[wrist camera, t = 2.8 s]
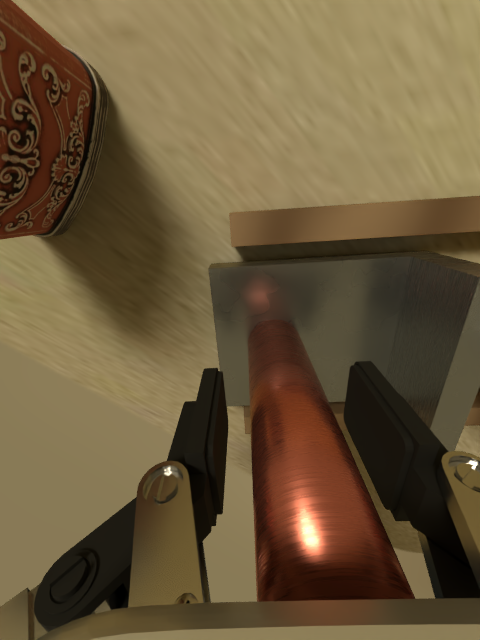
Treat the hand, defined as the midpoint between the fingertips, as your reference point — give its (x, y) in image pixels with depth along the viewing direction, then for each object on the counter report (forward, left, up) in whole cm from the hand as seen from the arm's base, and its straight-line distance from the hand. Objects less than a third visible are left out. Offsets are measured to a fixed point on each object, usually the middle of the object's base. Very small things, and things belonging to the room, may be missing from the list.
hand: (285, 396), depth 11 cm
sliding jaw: (-3, 0, -6) cm, 6 cm away
